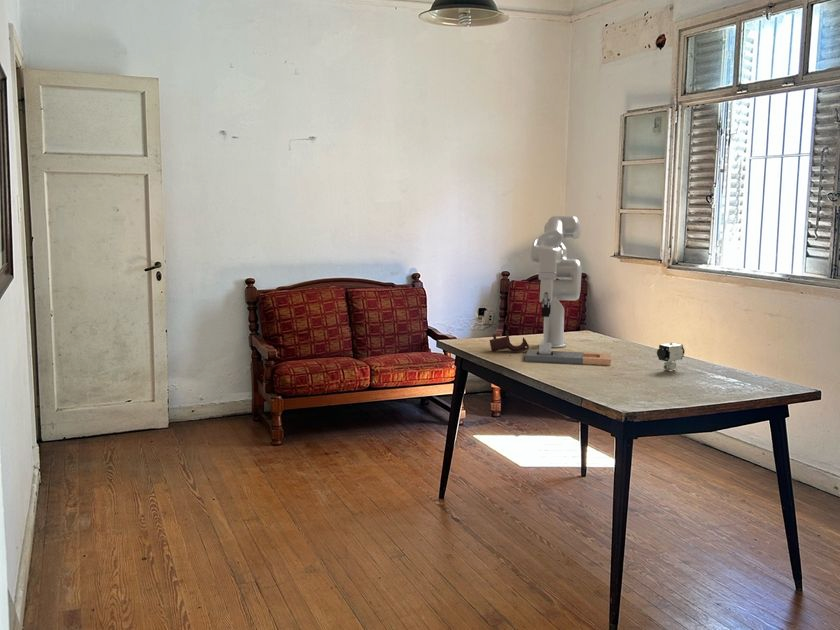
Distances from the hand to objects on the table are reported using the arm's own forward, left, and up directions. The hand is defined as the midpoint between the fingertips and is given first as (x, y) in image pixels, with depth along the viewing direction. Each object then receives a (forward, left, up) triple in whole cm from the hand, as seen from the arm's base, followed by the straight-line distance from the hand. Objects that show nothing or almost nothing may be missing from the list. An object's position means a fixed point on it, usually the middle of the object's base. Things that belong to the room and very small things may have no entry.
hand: (546, 315), depth 351 cm
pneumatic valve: (+12, +52, -20) cm, 57 cm away
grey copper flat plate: (0, +10, -20) cm, 22 cm away
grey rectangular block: (0, 0, -20) cm, 20 cm away
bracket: (-14, -17, -20) cm, 30 cm away
